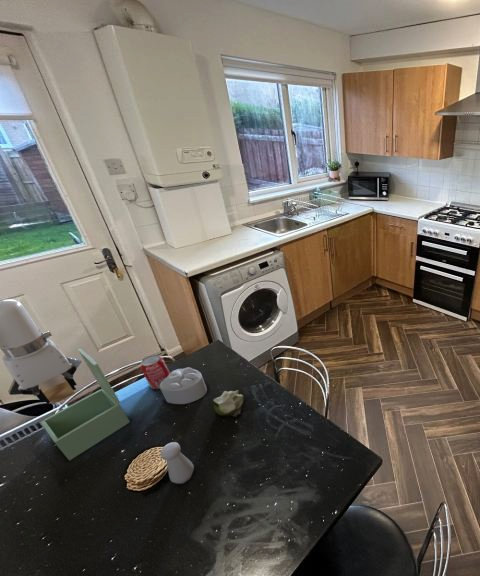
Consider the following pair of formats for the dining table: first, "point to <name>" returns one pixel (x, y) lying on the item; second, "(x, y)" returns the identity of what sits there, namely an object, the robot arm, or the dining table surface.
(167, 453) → the salt shaker
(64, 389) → the block
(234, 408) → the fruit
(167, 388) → the lumpy-topped squat cylinder
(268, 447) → the dining table surface
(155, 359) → the soda can
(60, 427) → the chest
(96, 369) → the lid
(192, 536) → the dining table surface
